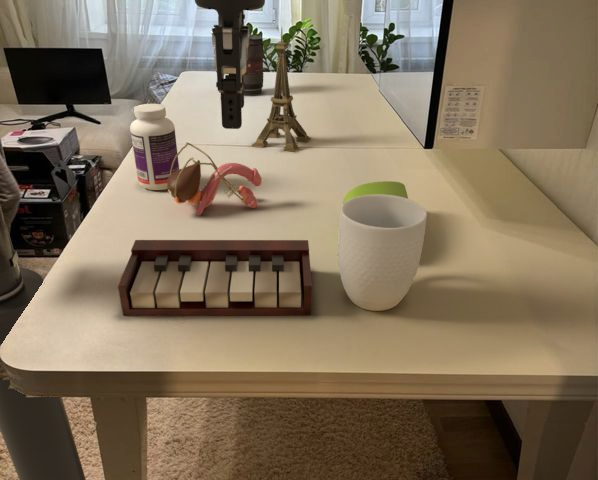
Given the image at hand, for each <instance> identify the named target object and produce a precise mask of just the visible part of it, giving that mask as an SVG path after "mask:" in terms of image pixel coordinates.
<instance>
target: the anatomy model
mask: <svg viewBox="0 0 598 480" xmlns="http://www.w3.org/2000/svg"><path fill="white" fill-rule="evenodd" d="M188 146H191V147H192V148H194V149H196V150H197V151H198V152H200V153H202V154H203V155H205V157H207V158H208V159H209V161H210V162H201V161H200V160H199V159H198V160H197V161H196V160H195V159H194V157H193V156H192V157H190V158H188V160H187V161H186V162H185V163H184V165H183V167H182V168H179V170H177V171H176V172H174V173H173V174H172V168H173V165H174V162H175V160H176V158H177V156H178V157H179V156H180V154H181V152H183V150H184V149H186V148H187V147H188ZM191 161H192V162H193V164H191V165H188V164H189V163H190V162H191ZM201 165H204V166H205V165H206V166H208V165H209V166H211V167H212V168H213V169H214V171H213V172H212V174H211V175H210V177H209V179H208V180H207V182H206V183H205V185H204V186H203V188H202V189H200V188H199V187H200V185H201V178H202V167H201ZM229 175H237V176H240V177H242V178H245V179H246V180H247V181H249V182H250V183H251V184H252V185H253V186H254V187H261V185H262V183H263V178H262V176H261V174H260V172H259V171H258V169H257V168H256V167H254V168H250V167H249V166H247V165H245V164H241V163H238V162H228V163H223V164H222V165H219V166H218V167H217V165H216V164H215V162H214V161H213V159H212V158H211V157H210V155H208V154H207V153H206V152H205V151H203V150H202V149H200V148H199V147H197V146H196V145H193V144H192V143H190V142H185V145H184V146H183V147H181V148H180V149H179V151H177V155H176V157H175V158H174V160H173V163H172V166H171V171H170V176H169V178H168V179H167V188H168V189H167V190H168V193H169V195H171V197H172V198H173V201H174V202H175V203H176V204H179V205H180V204H181V205H182V204H184V203H186V202H187V203H188V204H190V205H191V206H194V205H197V204H199V205H198V208H197V211H196V216H201V215H202V214H203V212H204V210H205V208H207V207H209V206H210V205H211V204H212V203H213V202H214V200H215V198H216V195H217V193H218V189H219V187H220V184H221V182H223V184H224V185H225V186H226V187H227V189H224V190H223V193H225V194H226V195H227V198H229V199H230V197H231V196H232V195H235V196H236V197H237V198H239V200H240V201H242V203H243V205H245V206H247V207H249V208H250V209H255V208H257V207H258V205H259V201H258V199H257V198H256V196H255V194H254V192H253V190H252V189H251V188H250V187H248V186H245V185H240V186H238V185H237V186H236V187H235V185H236V184H235V183H232V184H231V183H230V182H229V181H228V180H227V179H226V178H225V177H227V176H229ZM229 191H230V192H229ZM227 192H229V194H228V193H227ZM236 192H237V193H236Z"/></svg>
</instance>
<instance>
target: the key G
mask: <svg viewBox="0 0 598 480" xmlns="http://www.w3.org/2000/svg"><path fill="white" fill-rule="evenodd" d="M248 265H249V261H238V266H237V271H232V278H231V286H230V301H252V299H253V284H254V271H249V266H248Z"/></svg>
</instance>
